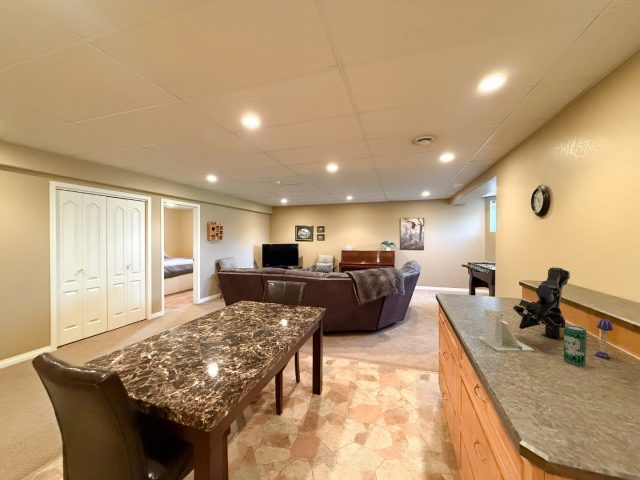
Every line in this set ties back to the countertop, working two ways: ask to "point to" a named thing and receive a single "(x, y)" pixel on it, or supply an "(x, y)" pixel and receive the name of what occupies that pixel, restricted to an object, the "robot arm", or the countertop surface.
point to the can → (575, 345)
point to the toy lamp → (604, 337)
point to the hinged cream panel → (508, 334)
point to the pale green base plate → (507, 346)
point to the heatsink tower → (493, 327)
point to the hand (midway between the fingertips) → (520, 328)
